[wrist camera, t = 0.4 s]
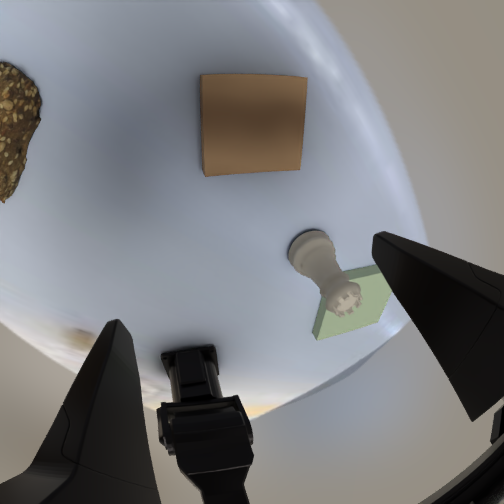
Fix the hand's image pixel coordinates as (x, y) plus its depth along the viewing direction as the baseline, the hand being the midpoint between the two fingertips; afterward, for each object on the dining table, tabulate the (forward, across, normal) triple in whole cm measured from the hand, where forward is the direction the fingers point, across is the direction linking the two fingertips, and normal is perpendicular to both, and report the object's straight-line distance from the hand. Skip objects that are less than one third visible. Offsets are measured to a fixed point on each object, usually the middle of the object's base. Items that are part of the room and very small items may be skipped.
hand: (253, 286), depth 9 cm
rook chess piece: (+14, -8, +11) cm, 19 cm away
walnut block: (+14, -4, -2) cm, 15 cm away
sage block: (+14, -14, +21) cm, 29 cm away
